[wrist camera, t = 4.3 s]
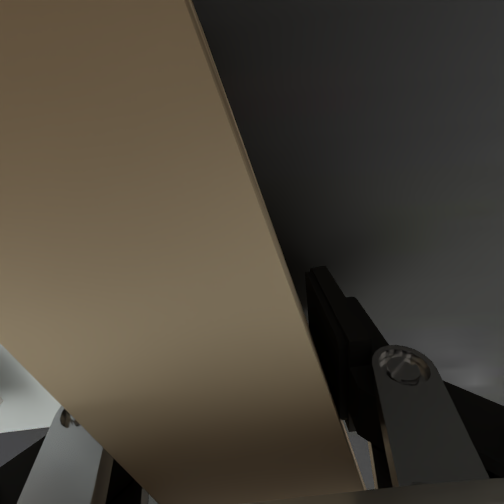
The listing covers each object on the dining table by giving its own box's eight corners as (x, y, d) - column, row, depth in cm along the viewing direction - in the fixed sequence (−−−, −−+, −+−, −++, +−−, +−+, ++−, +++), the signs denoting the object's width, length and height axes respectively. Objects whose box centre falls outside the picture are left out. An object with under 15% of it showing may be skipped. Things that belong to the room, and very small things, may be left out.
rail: (86, 81, 8) (-447, -110, 2) (201, 27, 8) (12, -466, 1) (270, 425, 15) (289, 636, 9) (337, 407, 15) (410, 615, 8)
